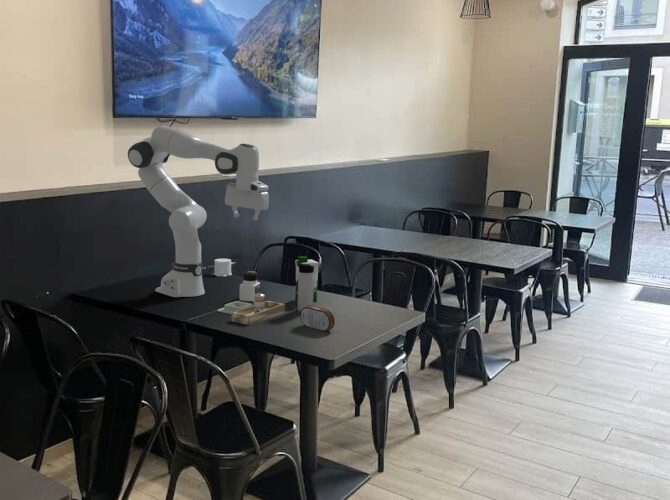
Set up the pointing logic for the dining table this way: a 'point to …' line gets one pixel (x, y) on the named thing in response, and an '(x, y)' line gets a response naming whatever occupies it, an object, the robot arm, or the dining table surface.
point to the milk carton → (313, 263)
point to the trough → (250, 318)
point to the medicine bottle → (249, 286)
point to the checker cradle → (234, 307)
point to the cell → (259, 302)
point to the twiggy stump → (223, 267)
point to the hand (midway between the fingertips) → (245, 218)
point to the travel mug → (305, 286)
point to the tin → (317, 318)
